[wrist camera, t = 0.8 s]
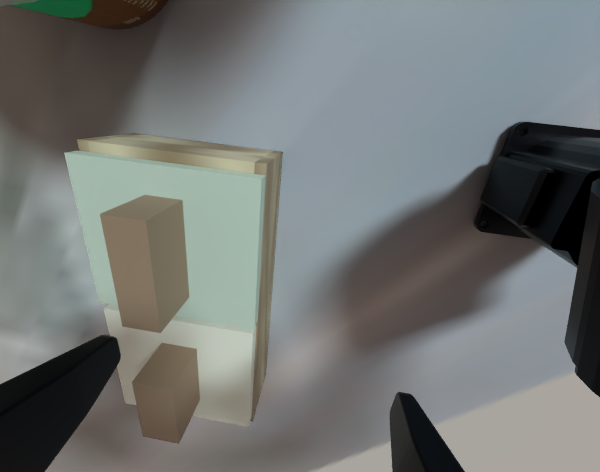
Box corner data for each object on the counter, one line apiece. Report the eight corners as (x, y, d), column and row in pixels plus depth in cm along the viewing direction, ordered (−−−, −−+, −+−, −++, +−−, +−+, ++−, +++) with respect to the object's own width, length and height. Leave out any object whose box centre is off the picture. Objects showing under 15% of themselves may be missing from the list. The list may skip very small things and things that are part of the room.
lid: (257, 320, 19) (237, 375, 15) (253, 411, 22) (235, 473, 18) (117, 296, 19) (61, 343, 15) (135, 388, 23) (94, 444, 19)
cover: (265, 175, 14) (242, 196, 11) (257, 320, 18) (238, 370, 14) (77, 150, 15) (-3, 162, 11) (108, 295, 18) (56, 337, 15)
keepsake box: (282, 152, 18) (266, 163, 14) (265, 373, 26) (252, 421, 22) (134, 133, 19) (76, 139, 15) (163, 354, 27) (131, 398, 23)
